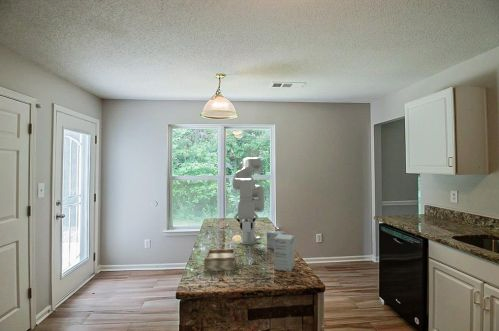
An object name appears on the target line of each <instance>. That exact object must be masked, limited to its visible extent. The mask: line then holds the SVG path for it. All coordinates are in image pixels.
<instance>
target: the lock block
mask: <svg viewBox="0 0 499 331" xmlns="http://www.w3.org/2000/svg"><path fill="white" fill-rule="evenodd" d="M242 232H251V221H250V219H242V230H241V233H242Z"/></svg>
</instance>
